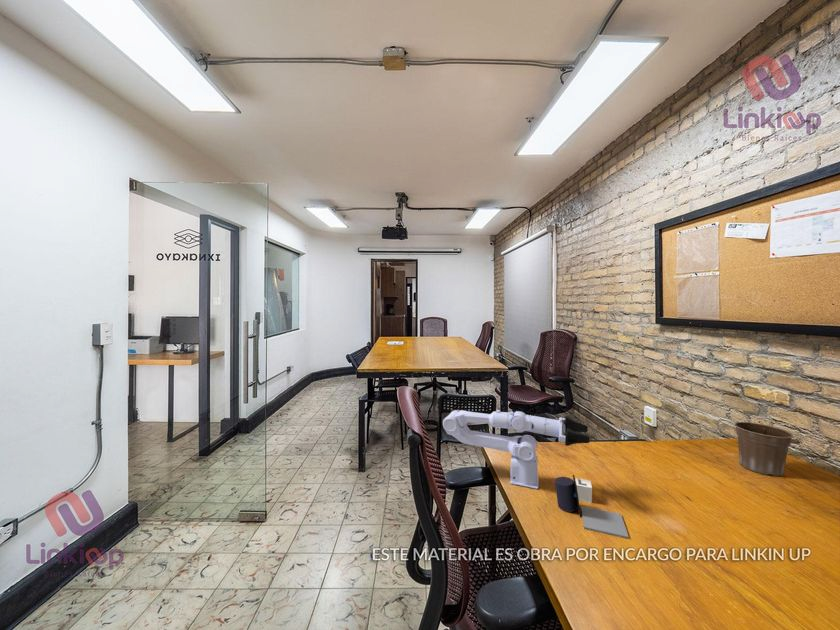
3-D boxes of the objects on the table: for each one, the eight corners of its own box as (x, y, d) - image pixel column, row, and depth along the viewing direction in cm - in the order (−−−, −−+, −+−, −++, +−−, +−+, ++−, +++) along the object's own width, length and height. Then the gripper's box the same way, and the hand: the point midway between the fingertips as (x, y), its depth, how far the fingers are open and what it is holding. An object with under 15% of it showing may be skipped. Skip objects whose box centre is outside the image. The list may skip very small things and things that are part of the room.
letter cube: (574, 499, 109) (575, 484, 109) (573, 492, 113) (574, 477, 113) (591, 503, 107) (592, 487, 107) (590, 495, 112) (590, 480, 111)
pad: (584, 528, 94) (584, 526, 94) (580, 507, 104) (580, 505, 104) (628, 538, 90) (628, 537, 90) (620, 515, 100) (620, 513, 100)
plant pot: (796, 472, 128) (797, 431, 128) (788, 484, 119) (789, 440, 119) (739, 456, 142) (740, 419, 141) (728, 466, 133) (729, 426, 132)
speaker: (585, 508, 104) (582, 475, 104) (581, 517, 99) (577, 483, 99) (560, 501, 108) (557, 470, 109) (555, 510, 104) (551, 477, 104)
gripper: (545, 424, 110) (591, 433, 104) (547, 407, 123) (587, 414, 118) (544, 444, 111) (589, 453, 105) (545, 425, 124) (586, 432, 119)
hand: (588, 434), depth 112 cm, fingers open, 7 cm apart
